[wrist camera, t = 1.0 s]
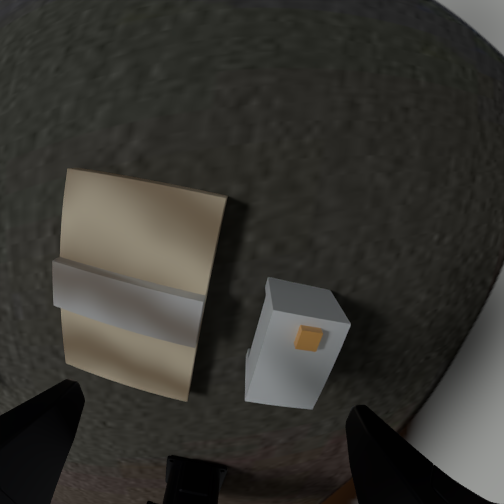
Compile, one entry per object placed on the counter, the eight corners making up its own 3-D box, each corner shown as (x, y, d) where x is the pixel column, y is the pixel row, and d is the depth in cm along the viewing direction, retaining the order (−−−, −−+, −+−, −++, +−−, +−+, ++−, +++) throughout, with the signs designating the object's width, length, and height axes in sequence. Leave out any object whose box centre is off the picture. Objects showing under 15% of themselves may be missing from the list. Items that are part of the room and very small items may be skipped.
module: (302, 366, 22) (313, 415, 17) (245, 356, 22) (244, 407, 17) (330, 290, 21) (354, 329, 15) (268, 276, 20) (274, 315, 15)
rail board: (189, 390, 23) (184, 410, 21) (73, 354, 22) (60, 369, 20) (227, 196, 19) (224, 200, 16) (78, 167, 18) (59, 169, 16)
